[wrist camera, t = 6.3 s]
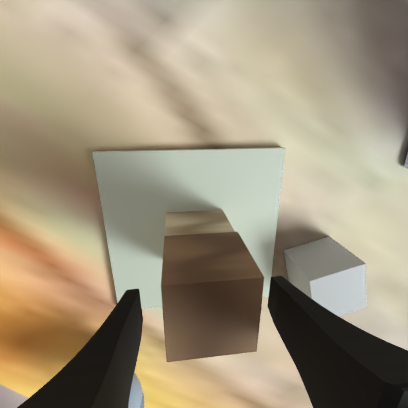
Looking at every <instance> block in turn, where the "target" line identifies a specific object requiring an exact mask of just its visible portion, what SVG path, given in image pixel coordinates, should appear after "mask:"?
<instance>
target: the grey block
mask: <svg viewBox="0 0 408 408" xmlns="http://www.w3.org/2000/svg"><path fill="white" fill-rule="evenodd" d="M284 256H285V262H286V268H287V274H288V280H289V282H290V283H291V284H293V285H294V286H295V287H297V288H298V289H299V290H301V291H302V292H303V293H305V294H306V295H307V296H309V297H310V298H311V299H313V300H314V301H316V302H317V303H318V304H320V305H321V306H323V307H324V308H326V309H327V310H329V311H330V312H332V313H334V314H335V315H337V316H341V315H344V314H347V313H350V312H354V311H357V310H360V309H363V308H366V307H367V302H366V263H364V262H363V261H362V260H360V259H359V258H358V257H356V256H355V255H354V254H352V253H351V252H350V251H348V250H347V249H346V248H344V247H343V246H342V245H340V244H339V243H338V242H336V241H335V240H334V239H332V238H331V237H330V236H329V237H325V238H322V239H319V240H316V241H312V242H309V243H306V244H303V245H300V246H296V247H293V248H290V249H287V250H284Z"/></svg>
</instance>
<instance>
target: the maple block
mask: <svg viewBox="0 0 408 408" xmlns="http://www.w3.org/2000/svg"><path fill="white" fill-rule="evenodd" d="M223 232H235V231H234V229H233V228H232V226H231V224H230V222H229V220H228V219H227V217H226V215H225V213H224V211H223V210H205V211H186V212H167V213H166V220H165V234H164V236H171V235H188V234H205V233H223Z"/></svg>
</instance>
